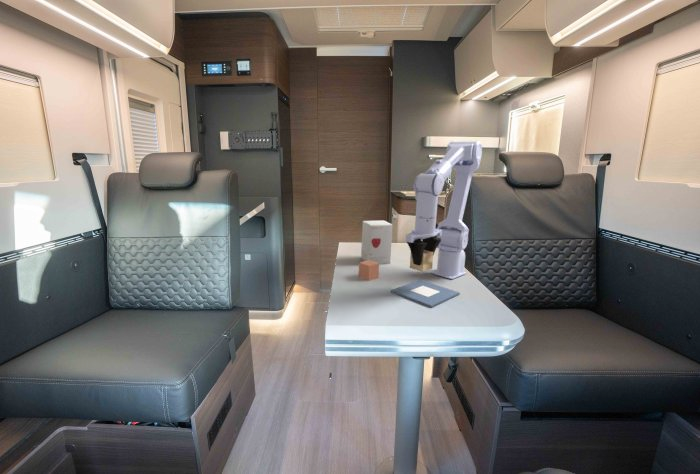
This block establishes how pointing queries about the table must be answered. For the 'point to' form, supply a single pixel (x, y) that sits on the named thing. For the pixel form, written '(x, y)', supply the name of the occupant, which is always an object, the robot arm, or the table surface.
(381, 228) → the supplement box
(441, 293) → the board
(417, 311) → the table surface
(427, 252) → the oak block
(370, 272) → the terracotta block
